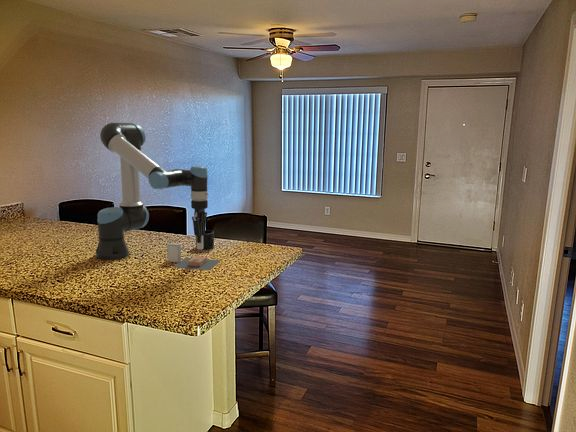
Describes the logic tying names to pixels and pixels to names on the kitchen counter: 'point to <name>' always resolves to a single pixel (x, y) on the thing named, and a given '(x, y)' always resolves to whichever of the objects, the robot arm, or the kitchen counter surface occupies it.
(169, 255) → the grey tile
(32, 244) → the kitchen counter surface
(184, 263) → the mat
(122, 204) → the robot arm
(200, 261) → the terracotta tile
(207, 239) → the mug
